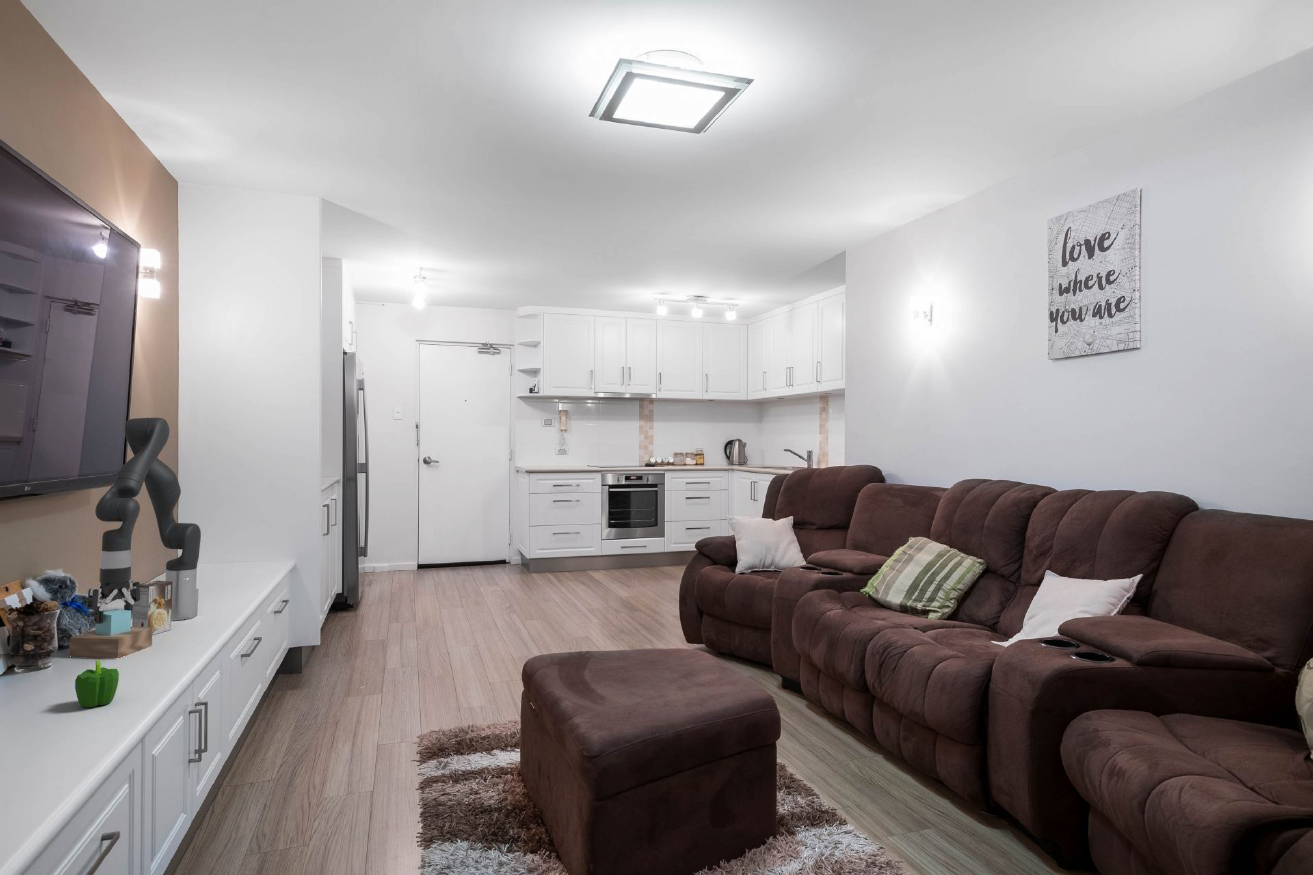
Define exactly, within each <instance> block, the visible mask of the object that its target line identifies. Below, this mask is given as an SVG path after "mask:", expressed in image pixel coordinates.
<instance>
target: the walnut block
mask: <svg viewBox="0 0 1313 875" xmlns="http://www.w3.org/2000/svg"><path fill="white" fill-rule="evenodd" d="M152 628H153V627H132V626H131V630H130V631H128V632H124V633H120V634H116V635H112V636H109V635H101V634H95V629H93V630H92V629H91V630H90V631H86V632H83V633H80V634H77V635H74V636H71V637H69V657H68V658H75V657H87V658H86V659H101V658H119V659H122V658H124V657H123V656H125V657H127V656H129V654H130V655H132V654H134V653H137V652H140V651H142V649H143V650H145V649H148V648H150V647H152V645H153V635H152ZM70 656H71V657H70ZM121 657H122V658H121Z"/></svg>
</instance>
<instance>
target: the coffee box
mask: <svg viewBox="0 0 1313 875" xmlns="http://www.w3.org/2000/svg"><path fill="white" fill-rule="evenodd" d="M172 583H173V582H172V581H165V580H153V581H147V582H142V583H140V600H139V601H136V602H135V603H134V604H133V613H132V615H131V623H132V624H131V627H153V628H152V636H154V635H158V634H161V633H164V632H168V631H171V630H172V620H171V619H172Z"/></svg>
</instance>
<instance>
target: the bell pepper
mask: <svg viewBox="0 0 1313 875" xmlns="http://www.w3.org/2000/svg"><path fill="white" fill-rule="evenodd" d="M119 677H120V673H119V670H118V669H117V668H107V667H104V666H102V661H101V660H100V659H98V660H97V659H96V661H95V669H91V668H89V669H86V670H84V671H83V672H82V673H79V674H78V675H77V676H76V678H75V680H74V689H75V690H74V691H75V694H76V698H77V701H78V703H79V704H80V706H81V707H83V708H93V707H98V706H104V705H105V706H106V705H110V703H112V701H114V698H115V695H116V692H117V688H118V686H119Z"/></svg>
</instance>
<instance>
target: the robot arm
mask: <svg viewBox="0 0 1313 875" xmlns="http://www.w3.org/2000/svg"><path fill="white" fill-rule="evenodd" d="M124 424H125V425H124V435H125V439H126V441H127V443H128V446H129V448H130V450H131V452H132V454H133V456H132V457H131V458H130V459H129V460H127V461H126V462H125V463H124V464H123V465H122V466H121V468H120V469H119V470H118V473H117V475H116V478H115V479H114V481H113V482H114V483H112V484H113V485H112V486H110V488H109V489H108V490H107V491H106V492H105V493H104V495H103V496H102V497H100V499H99V501H98V502H97V504H96V506H95V512H94V513H95V516H96V518H97V520H99V521H101V522H105V523H106V522H108V523H109V522H111V523H112V522H114V523H115V522H116V523H117V522H119V523H122V524H121V525H120V526H119V527H118V528H114V529H109V530H105V531H104V532H103V533H102V538H101V554H100V559H99V578H98V579H99V583H100V586H99V588H89V589H88V590H87V591H88V592H87V601H86V602H87V603H86V610H91V611H93V621H94V623H95V625H96V624H102V623H103V616H104V609H105V608H106V606H107V605H108V604H110V602H114V601H116V600H122V602H123V603H124V604H123V610H129V611H131V616H132V615H133V604H134V603H135V602H136V601H139V600H140V584H141V583H140V581H133V580H131V578H132V536H133V533H134V527H135V525H136V522H137V520H138V517H139V515H140V512H141V506H140V503H139V502H138V500H137V499H136V497H138V496H139V494H140V492H141V491H142V488H143V485H145V489H146V491H147V494H148V497H149V499H150V502H151V505H152V507H153V511H154V515H155V518H156V522H157V526H158V527H157V528H158V533H159V537H160V541H161V543H162V545H163V546H164V547H165V548H166V549H168V550H169V549H170V550H181V554H180V556H178V557H176V558H173V559H170V560H168V561H167V562H165V580H164V581H172V582H173V583H172V619H171V621H183V620H184V619H185V620H190V619H193V618H195V617H197V616H198V613H199V612H198V609H199V588H197V572H198V570H197V569H198V562H199V559H200V550H201V549H200V548H201V541H202V540H201V537H202V532H201V527H200V526H199V524H197V523H192V522H191V523H189V522H188V523H187V522H177V521H176V520H175V516H174V509H175V507H176V506H177V504H178V501H179V500H180V496H181V493H182V491H181V490H182V489H181V486H180V483H179V479H178V477H177V475H176V473H175V471H174V470H173V469H172V468H171V467H169V466H168V465H167V464H166V463H164V462H163V461H162V460H161V459H159V455H160V453H161V452H162V451H163V449H164V447H165V446H166V444H167V442H168V440H169V437H170V425H169V424H168V421H167V420H166V419H165V418H163V417H138V418H137V417H135V418H134V417H133V418H129V419H128V420H127V421H126V422H125V423H124ZM128 591H129V592H128Z"/></svg>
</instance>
